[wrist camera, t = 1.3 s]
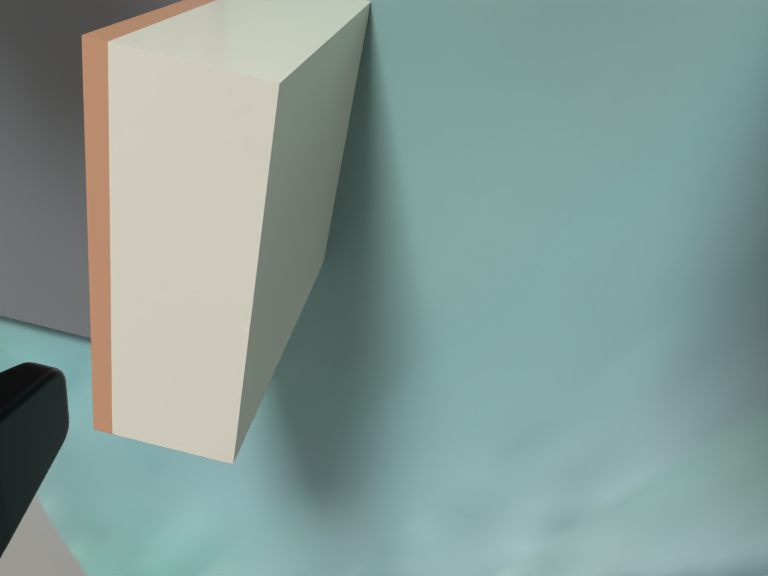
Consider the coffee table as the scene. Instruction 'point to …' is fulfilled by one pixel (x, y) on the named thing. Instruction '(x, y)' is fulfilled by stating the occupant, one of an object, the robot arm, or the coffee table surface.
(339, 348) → the coffee table surface
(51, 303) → the mat
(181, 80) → the cream rectangular block
